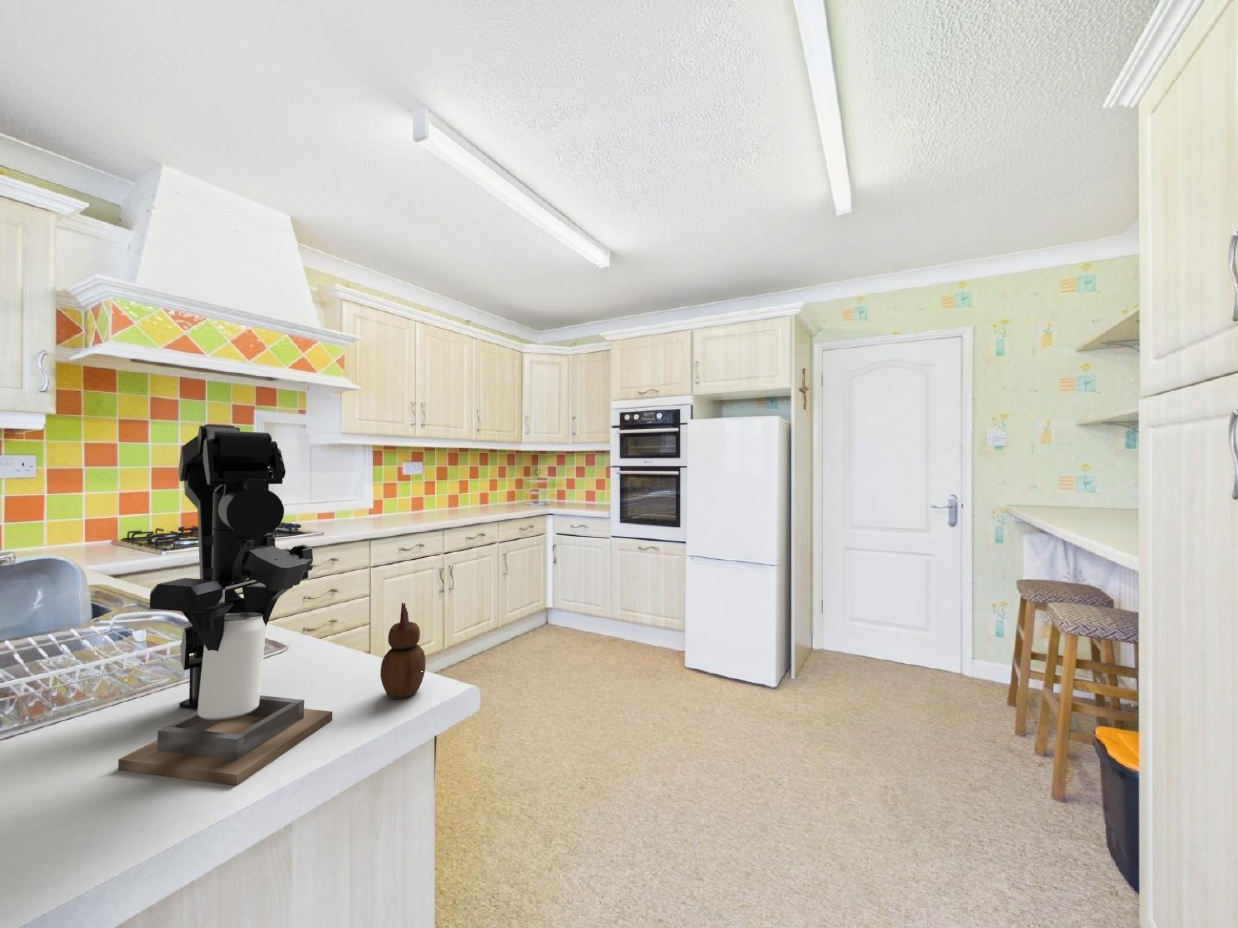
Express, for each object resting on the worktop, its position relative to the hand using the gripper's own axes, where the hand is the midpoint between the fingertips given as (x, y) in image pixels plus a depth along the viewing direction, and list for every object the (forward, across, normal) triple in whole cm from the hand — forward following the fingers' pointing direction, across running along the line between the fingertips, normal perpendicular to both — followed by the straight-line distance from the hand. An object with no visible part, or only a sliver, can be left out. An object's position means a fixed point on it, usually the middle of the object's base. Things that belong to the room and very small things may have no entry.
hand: (237, 647), depth 71 cm
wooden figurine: (+13, +18, -13) cm, 26 cm away
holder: (+12, 0, 0) cm, 12 cm away
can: (+8, -1, 0) cm, 8 cm away
